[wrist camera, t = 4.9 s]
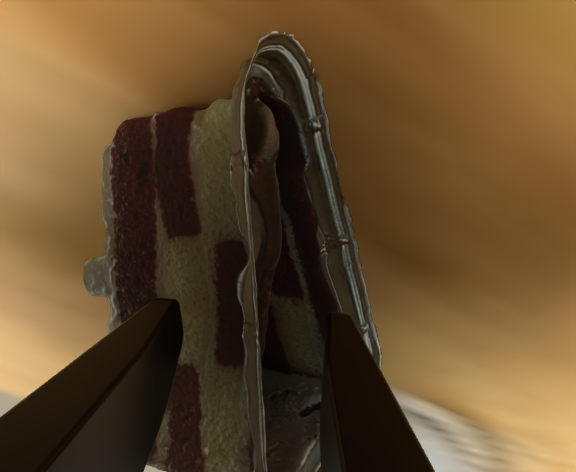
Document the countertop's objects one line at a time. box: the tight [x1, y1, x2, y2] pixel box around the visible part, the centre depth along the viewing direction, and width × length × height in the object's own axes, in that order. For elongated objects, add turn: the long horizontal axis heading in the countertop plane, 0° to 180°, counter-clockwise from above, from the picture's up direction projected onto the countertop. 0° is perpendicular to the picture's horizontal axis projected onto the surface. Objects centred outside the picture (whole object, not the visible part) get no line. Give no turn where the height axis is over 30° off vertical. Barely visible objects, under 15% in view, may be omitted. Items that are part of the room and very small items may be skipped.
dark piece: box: [83, 30, 382, 472], centre depth 14 cm, size 10×7×12 cm
